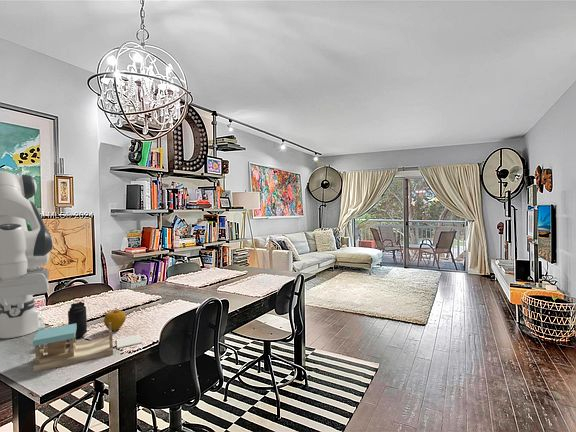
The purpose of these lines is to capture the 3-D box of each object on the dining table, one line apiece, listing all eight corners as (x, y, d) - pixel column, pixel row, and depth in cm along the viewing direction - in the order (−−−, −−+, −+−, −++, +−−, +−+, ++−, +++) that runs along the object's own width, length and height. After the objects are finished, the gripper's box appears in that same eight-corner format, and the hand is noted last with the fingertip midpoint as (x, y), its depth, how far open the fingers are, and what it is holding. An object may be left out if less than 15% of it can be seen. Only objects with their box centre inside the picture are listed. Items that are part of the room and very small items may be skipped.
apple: (121, 333, 142) (120, 313, 142) (100, 334, 141) (99, 314, 141) (129, 325, 151) (128, 306, 151) (109, 326, 150) (108, 307, 150)
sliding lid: (38, 335, 121) (38, 330, 120) (76, 328, 127) (76, 323, 126) (33, 346, 111) (32, 340, 111) (74, 338, 117) (74, 332, 117)
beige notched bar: (40, 356, 122) (39, 334, 122) (112, 340, 134) (111, 321, 134) (33, 372, 110) (32, 348, 110) (113, 354, 122) (112, 332, 122)
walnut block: (50, 353, 120) (49, 337, 120) (66, 349, 122) (65, 334, 122) (48, 358, 116) (47, 342, 115) (64, 355, 118) (63, 339, 118)
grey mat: (116, 340, 135) (116, 339, 134) (139, 335, 139) (139, 334, 139) (117, 348, 127) (117, 347, 127) (142, 343, 131) (141, 342, 131)
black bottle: (78, 340, 136) (76, 305, 135) (65, 339, 137) (63, 304, 137) (91, 333, 143) (90, 300, 142) (79, 332, 144) (77, 299, 144)
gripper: (49, 265, 120) (51, 301, 120) (-25, 272, 110) (-22, 312, 110) (47, 268, 114) (49, 306, 115) (-31, 276, 104) (-28, 317, 105)
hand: (14, 309), depth 113 cm, fingers open, 2 cm apart
